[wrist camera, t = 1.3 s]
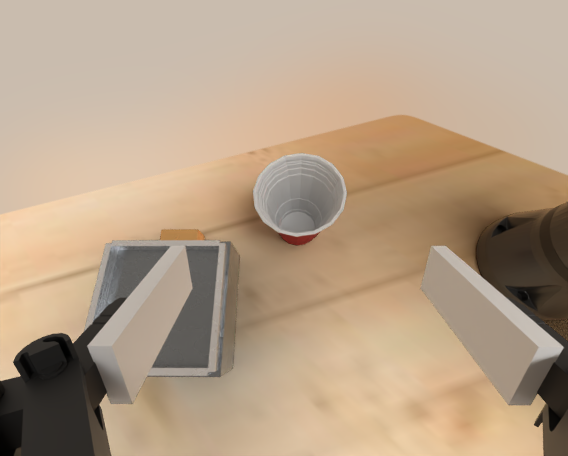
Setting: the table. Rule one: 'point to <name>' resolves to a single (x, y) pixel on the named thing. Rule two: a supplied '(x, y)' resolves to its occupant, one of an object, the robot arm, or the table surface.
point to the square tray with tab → (197, 309)
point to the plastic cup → (299, 196)
